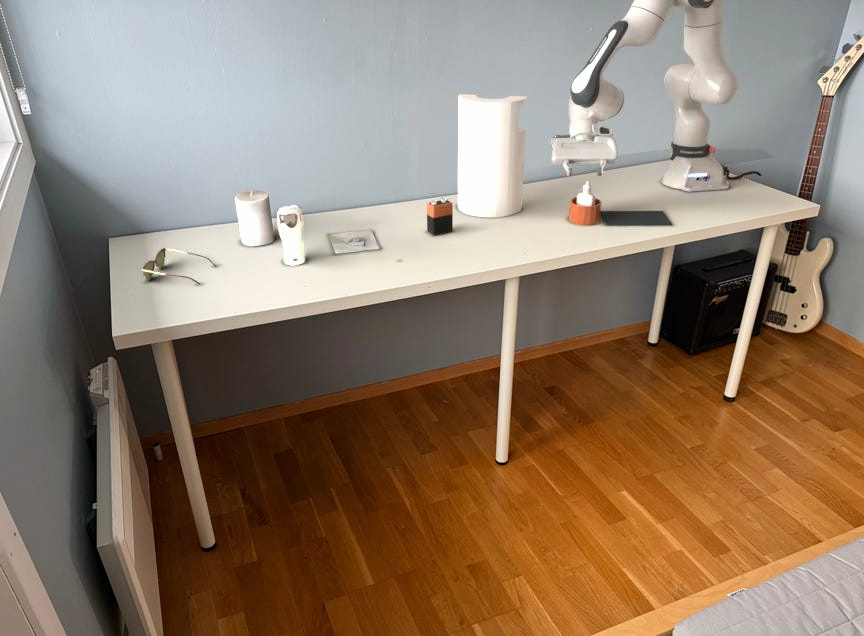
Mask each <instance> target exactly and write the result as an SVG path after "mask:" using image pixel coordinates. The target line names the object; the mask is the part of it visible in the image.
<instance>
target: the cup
mask: <svg viewBox="0 0 864 636" xmlns="http://www.w3.org/2000/svg"><path fill="white" fill-rule="evenodd" d="M569 202H570V203H569V213H568V220H569V222H571V223H572V224H575V225H578V226H579V225H580V226H592V225H596V224H598V223H600V220H601V214H600V212H601V211H602V201H601V199H599V198H597V197H595V205H594V206H581V205H577V196H576V197H573V198H571V199H570V201H569Z"/></svg>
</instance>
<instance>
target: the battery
mask: <svg viewBox="0 0 864 636" xmlns="http://www.w3.org/2000/svg"><path fill="white" fill-rule="evenodd" d="M453 205H454V204H453V202H451V201H449V198H447V197H441V198H440V199H439V200H432V201H430V202H427V203H426V228H427V229H426V232H428V233H429V234H431V235H432V236H438V235H443V234H447V233H452V232H453V228H454V227H453V226H454V225H453V224H454V222H453V218H454V217H453V215H454V213H453V211H454V210H453Z"/></svg>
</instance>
